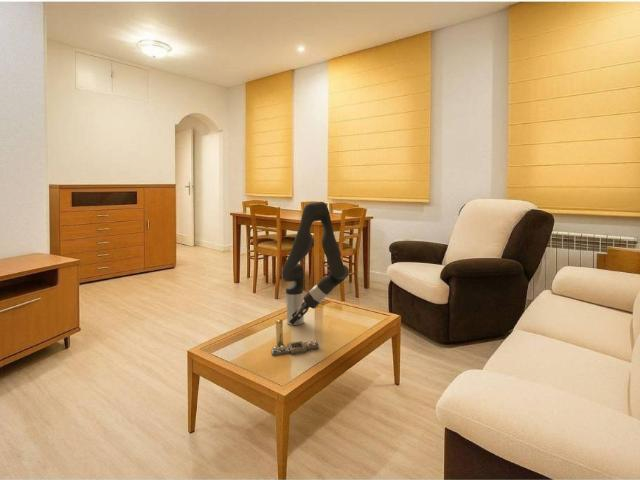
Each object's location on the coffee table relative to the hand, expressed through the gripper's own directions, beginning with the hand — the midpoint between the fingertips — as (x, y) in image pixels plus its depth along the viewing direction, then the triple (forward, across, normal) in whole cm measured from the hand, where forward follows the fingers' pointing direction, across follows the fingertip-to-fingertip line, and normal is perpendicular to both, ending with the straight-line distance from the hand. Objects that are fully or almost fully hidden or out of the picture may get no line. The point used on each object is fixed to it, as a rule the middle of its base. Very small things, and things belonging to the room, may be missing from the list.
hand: (292, 320), depth 183 cm
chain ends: (+7, +6, +10) cm, 14 cm away
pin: (+13, 0, +4) cm, 14 cm away
